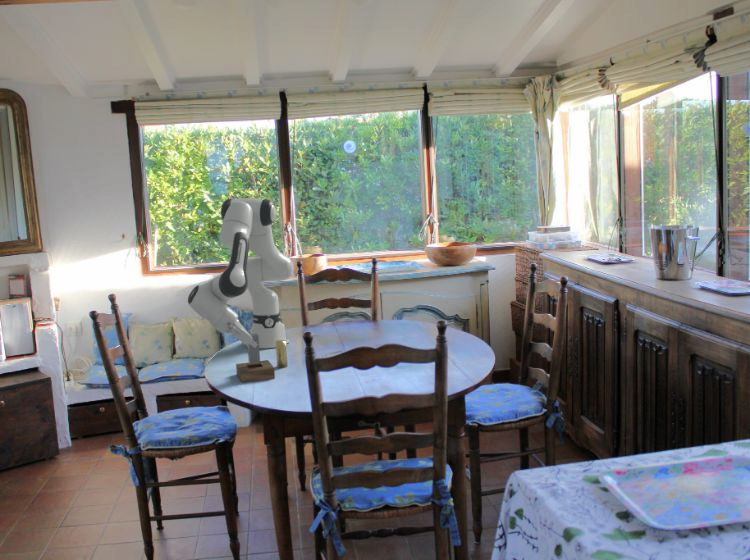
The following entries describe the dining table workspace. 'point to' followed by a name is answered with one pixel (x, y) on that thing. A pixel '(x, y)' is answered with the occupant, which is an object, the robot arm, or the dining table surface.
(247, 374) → the bore block
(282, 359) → the round bit
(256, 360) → the square bit
